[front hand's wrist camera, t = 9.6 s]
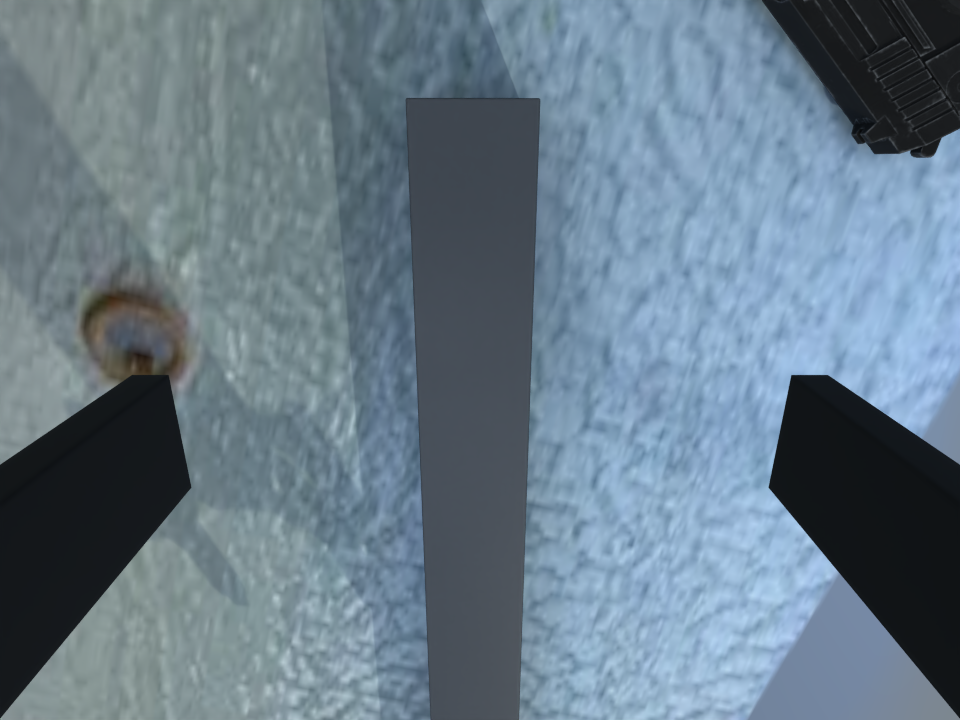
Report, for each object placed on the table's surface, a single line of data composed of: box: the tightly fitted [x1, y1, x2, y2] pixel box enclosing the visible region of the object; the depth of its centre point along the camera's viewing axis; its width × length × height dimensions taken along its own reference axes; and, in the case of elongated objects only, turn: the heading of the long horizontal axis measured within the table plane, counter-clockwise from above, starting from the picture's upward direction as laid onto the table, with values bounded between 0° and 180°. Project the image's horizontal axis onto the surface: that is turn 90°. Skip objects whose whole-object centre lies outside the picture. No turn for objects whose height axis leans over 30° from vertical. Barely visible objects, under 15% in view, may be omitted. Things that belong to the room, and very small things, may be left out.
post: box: [406, 98, 540, 720], centre depth 35 cm, size 63×5×8 cm, turn 0°
